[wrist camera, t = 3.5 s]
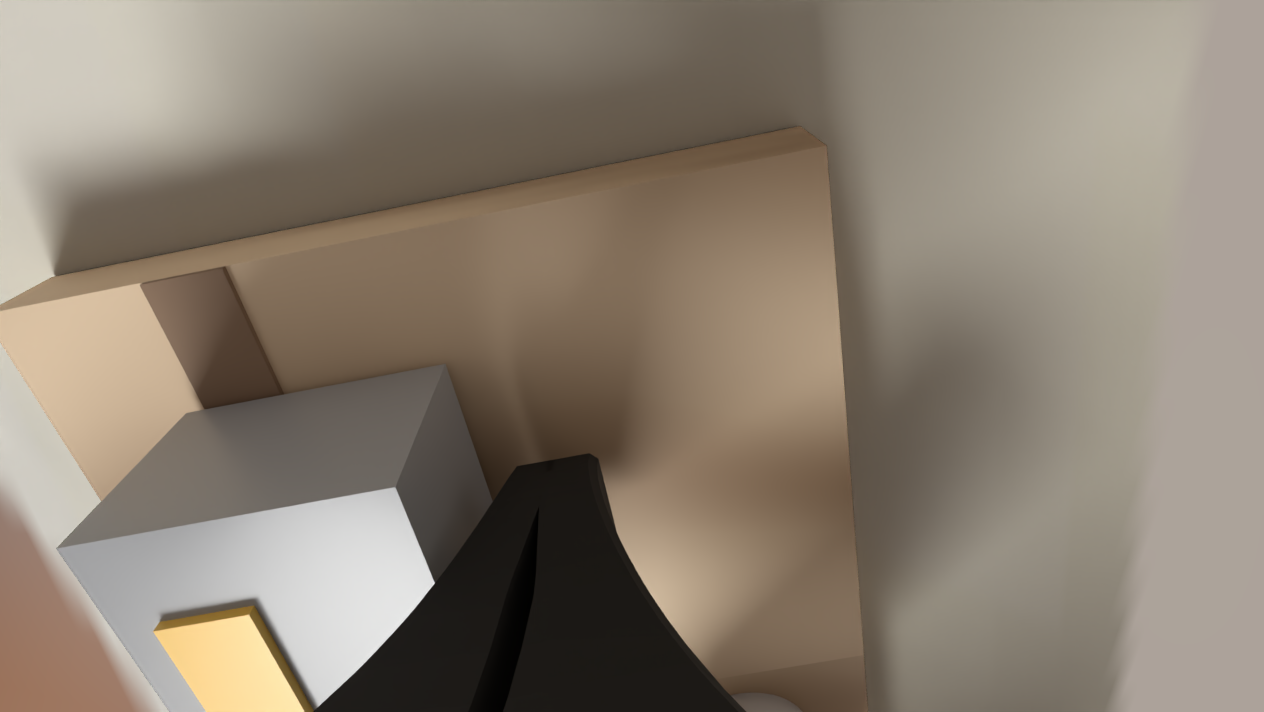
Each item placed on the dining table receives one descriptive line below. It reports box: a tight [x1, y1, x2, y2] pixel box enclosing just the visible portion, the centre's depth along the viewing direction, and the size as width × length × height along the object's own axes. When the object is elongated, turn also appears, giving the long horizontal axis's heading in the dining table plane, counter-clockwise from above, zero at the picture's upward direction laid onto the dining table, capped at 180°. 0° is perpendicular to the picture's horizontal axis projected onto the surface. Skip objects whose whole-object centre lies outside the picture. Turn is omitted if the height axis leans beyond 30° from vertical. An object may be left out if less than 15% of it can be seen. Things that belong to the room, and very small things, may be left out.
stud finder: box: [56, 364, 493, 712], centre depth 11 cm, size 5×4×3 cm
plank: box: [0, 126, 868, 712], centre depth 14 cm, size 15×12×2 cm
